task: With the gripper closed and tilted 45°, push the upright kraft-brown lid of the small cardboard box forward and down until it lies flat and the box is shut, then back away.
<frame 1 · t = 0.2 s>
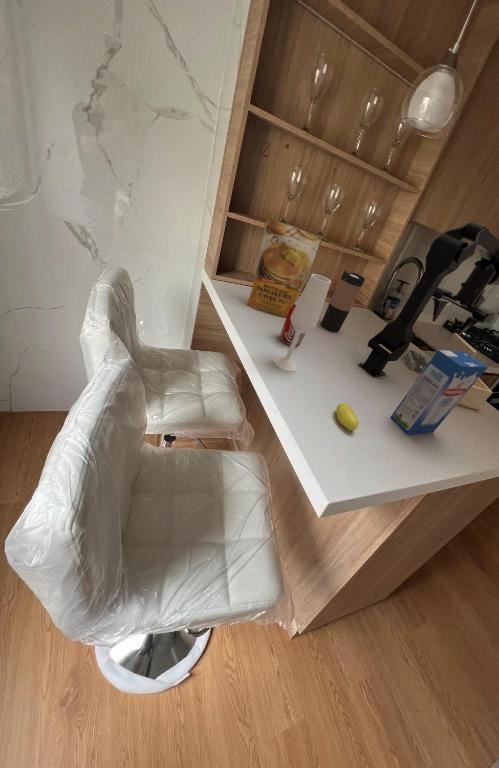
hand: (445, 328, 109), 15 cm above the countertop, tool pointing down, fingers open, 9 cm apart
lemon: (342, 422, 75), on the countertop
travel mug: (329, 328, 121), on the countertop
pancake mix bag: (267, 310, 117), on the countertop
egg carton: (413, 365, 116), on the countertop
champagne flute: (285, 364, 89), on the countertop
lid: (458, 357, 97), point 12 cm above the countertop, hinge at 106.0°
soda can: (289, 341, 101), on the countertop
milk carton: (411, 425, 82), on the countertop
cardboard box: (453, 394, 105), on the countertop
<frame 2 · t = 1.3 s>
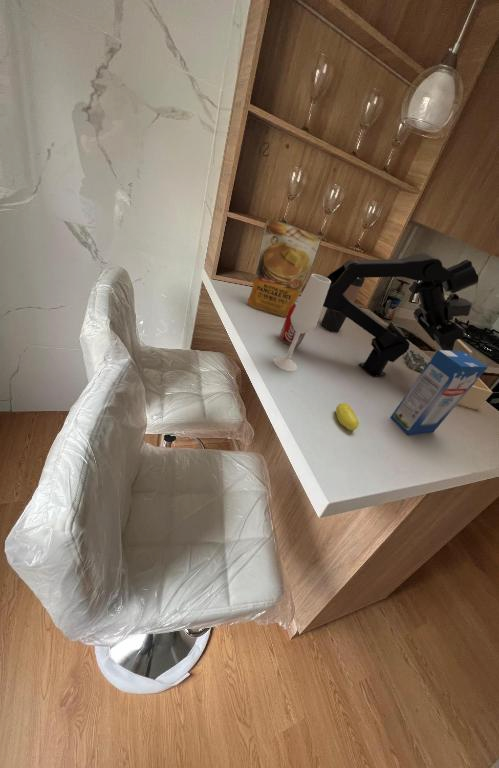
hand: (441, 347, 96), 13 cm above the countertop, tool tilted 45°, fingers open, 9 cm apart
lid: (456, 357, 97), point 12 cm above the countertop, hinge at 112.2°
everything else where it was.
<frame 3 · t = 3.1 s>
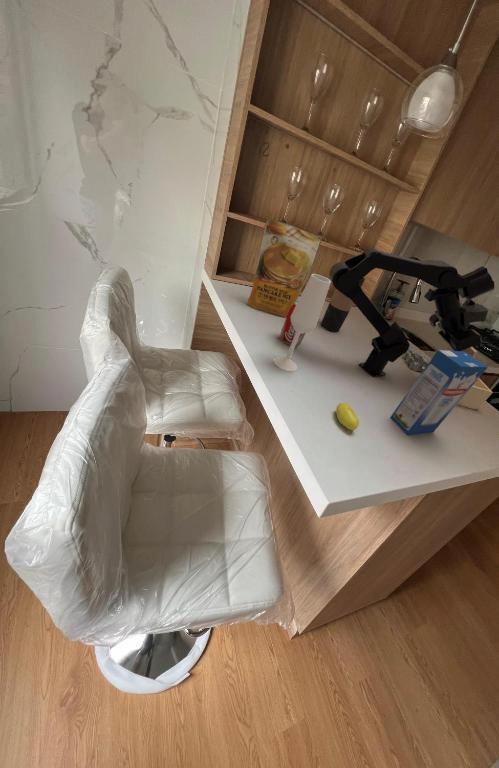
hand: (458, 352, 96), 13 cm above the countertop, tool tilted 45°, fingers closed, pressing on lid
lid: (458, 357, 97), point 12 cm above the countertop, hinge at 104.8°, touching gripper
everything else where it was.
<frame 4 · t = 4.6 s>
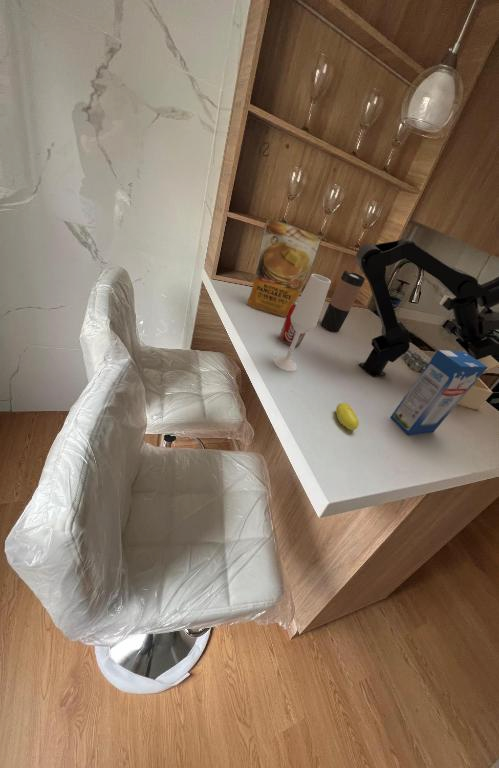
hand: (475, 359, 97), 13 cm above the countertop, tool tilted 45°, fingers closed, pressing on lid
lid: (470, 362, 98), point 11 cm above the countertop, hinge at 52.0°, touching gripper
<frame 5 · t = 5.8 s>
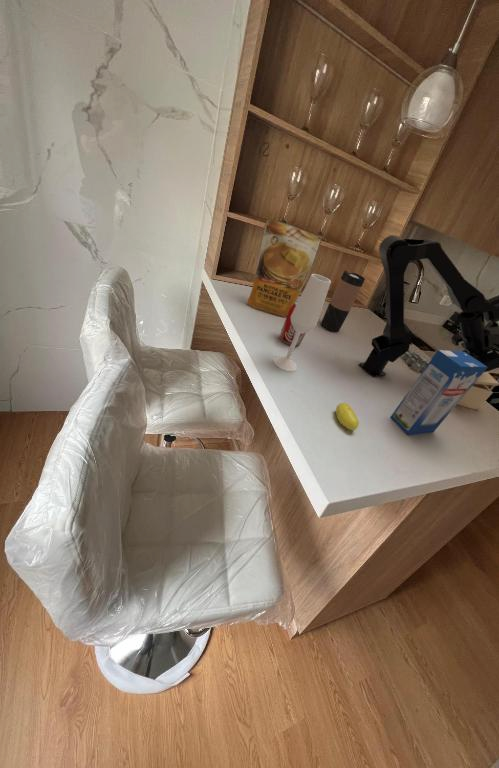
hand: (480, 371, 99), 10 cm above the countertop, tool tilted 45°, fingers closed, pressing on lid
lid: (470, 372, 100), point 9 cm above the countertop, hinge at 12.0°, touching gripper
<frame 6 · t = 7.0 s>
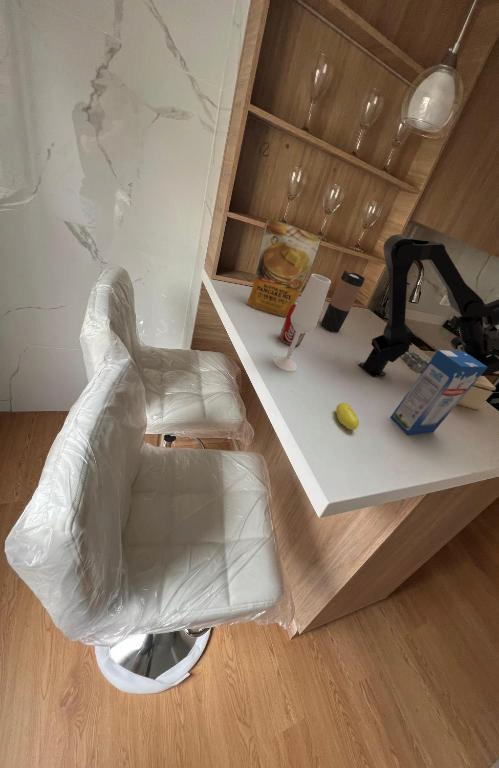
hand: (479, 374, 100), 9 cm above the countertop, tool tilted 45°, fingers closed
lid: (469, 374, 100), point 8 cm above the countertop, hinge at 2.5°
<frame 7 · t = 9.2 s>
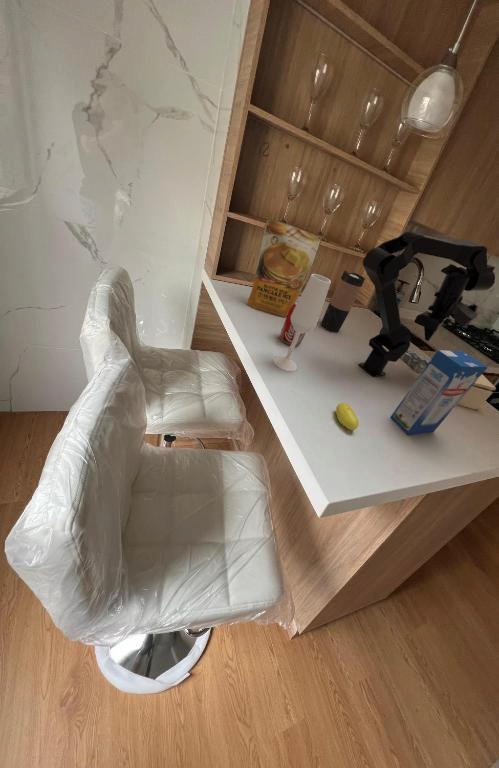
hand: (427, 340, 99), 13 cm above the countertop, tool pointing down, fingers closed
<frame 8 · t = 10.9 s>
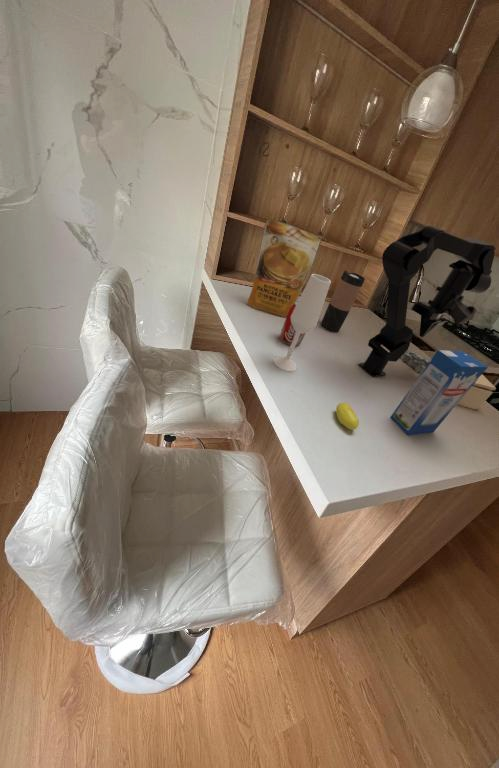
hand: (421, 336, 100), 13 cm above the countertop, tool pointing down, fingers closed
at the end: lid at +2° (first picture: +106°) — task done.
